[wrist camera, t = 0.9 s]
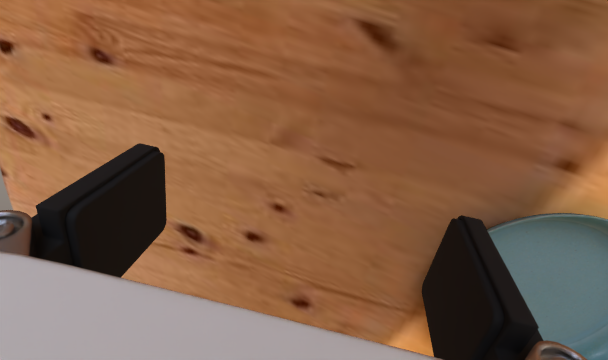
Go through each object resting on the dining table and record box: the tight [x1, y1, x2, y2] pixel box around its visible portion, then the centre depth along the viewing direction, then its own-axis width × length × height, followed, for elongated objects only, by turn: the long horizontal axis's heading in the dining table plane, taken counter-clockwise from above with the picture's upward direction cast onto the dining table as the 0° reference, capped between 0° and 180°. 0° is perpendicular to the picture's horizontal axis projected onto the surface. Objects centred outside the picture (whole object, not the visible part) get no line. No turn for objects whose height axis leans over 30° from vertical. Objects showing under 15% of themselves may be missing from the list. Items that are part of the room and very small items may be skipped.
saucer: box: [487, 213, 608, 360], centre depth 40 cm, size 24×24×3 cm
